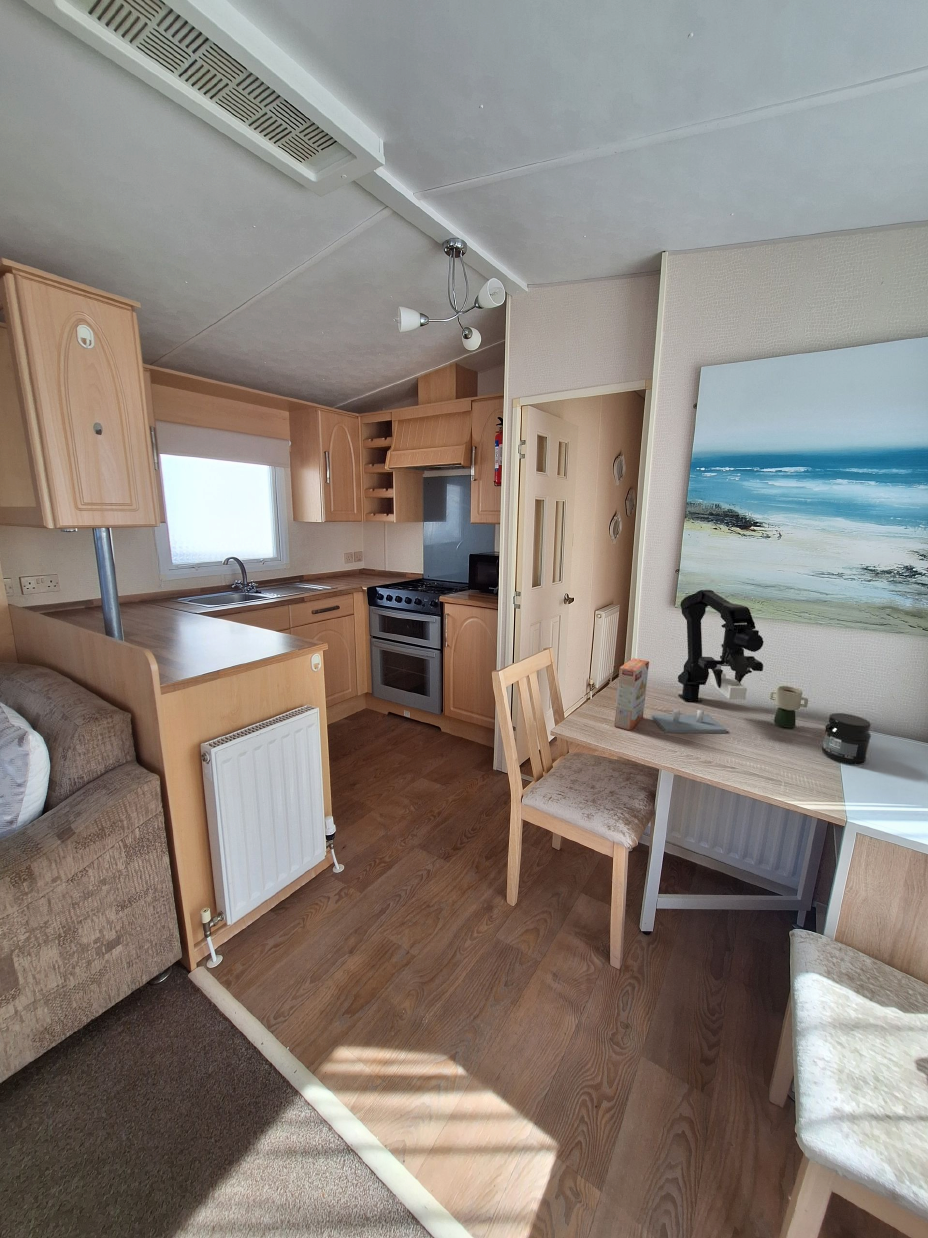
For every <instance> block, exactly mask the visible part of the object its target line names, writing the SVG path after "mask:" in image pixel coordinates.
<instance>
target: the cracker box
mask: <svg viewBox="0 0 928 1238" xmlns="http://www.w3.org/2000/svg"><path fill="white" fill-rule="evenodd" d="M649 667H650V661H649V660H645V659H641V658H631V659H630V660H629V661H627V662H626V663H624V664H623V665H621V666H620V667H619V672H618V683H617V693H616V703H615V714H614V723H613V725H614V726H613V727H616V728H620V729H623V730H626V731H631V730H632V729H633V728H634V727H635V726H636V725H637V724H638V723H639V722H640V721H641V720H642V719H643V718H644V710H645V705H646V703H645V701H646V694H647V684H648V674H649Z"/></svg>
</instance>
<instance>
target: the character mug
mask: <svg viewBox="0 0 928 1238" xmlns="http://www.w3.org/2000/svg"><path fill="white" fill-rule="evenodd" d="M774 695H775V697H774ZM769 699H770V700H772V701H775V702H774V704H775V706H776V707H778V708H777V709H776V712H775V714H774V719H773V723H775V725H776V726H777V725H778V726H779V727H784V728H793V727H796V723H797V721H796V719H797V718H796V717H797V715H796V713H797V712H796V711H798V710H799V709H800V708H801V707H802V708H807V707H808V704H809V698H808V697H804V696H803V690H802V689H800V688H799V687H794V686H789V685H779V686H777V689H776V690H770V693H769ZM802 701H804V703H802Z"/></svg>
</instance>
